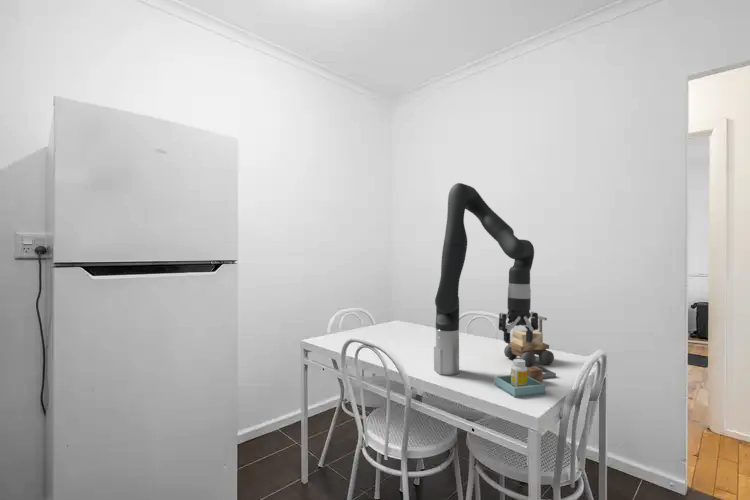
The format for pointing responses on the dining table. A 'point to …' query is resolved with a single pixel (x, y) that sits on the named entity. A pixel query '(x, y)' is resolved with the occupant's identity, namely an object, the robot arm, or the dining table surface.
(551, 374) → the square frame
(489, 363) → the dining table surface
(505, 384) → the tray
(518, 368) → the supplement bottle
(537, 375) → the block
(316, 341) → the dining table surface
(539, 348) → the trolley
